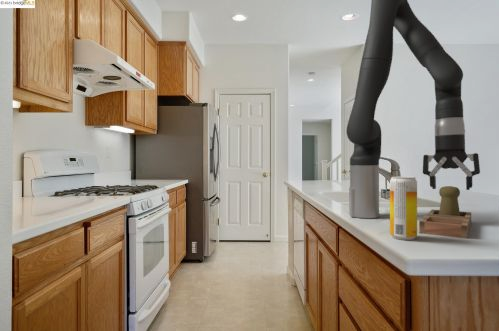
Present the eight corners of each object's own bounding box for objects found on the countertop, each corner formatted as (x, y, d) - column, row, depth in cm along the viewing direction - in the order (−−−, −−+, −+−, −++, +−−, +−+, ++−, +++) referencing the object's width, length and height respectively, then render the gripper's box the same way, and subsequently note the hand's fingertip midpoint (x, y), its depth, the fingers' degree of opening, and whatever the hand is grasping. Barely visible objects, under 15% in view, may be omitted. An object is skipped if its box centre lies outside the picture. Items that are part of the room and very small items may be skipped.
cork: (465, 225, 93) (465, 187, 93) (442, 225, 94) (442, 187, 94) (456, 221, 99) (456, 185, 99) (434, 221, 100) (434, 185, 100)
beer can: (418, 236, 81) (418, 176, 81) (415, 242, 76) (415, 178, 76) (392, 233, 85) (392, 176, 84) (387, 238, 80) (387, 177, 79)
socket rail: (467, 238, 79) (467, 226, 79) (419, 232, 85) (419, 221, 85) (471, 222, 98) (471, 212, 98) (431, 218, 104) (431, 209, 104)
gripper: (420, 135, 97) (421, 189, 97) (478, 131, 89) (479, 191, 89) (424, 136, 103) (425, 187, 103) (479, 133, 95) (480, 188, 95)
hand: (450, 189), depth 96 cm, fingers open, 8 cm apart
